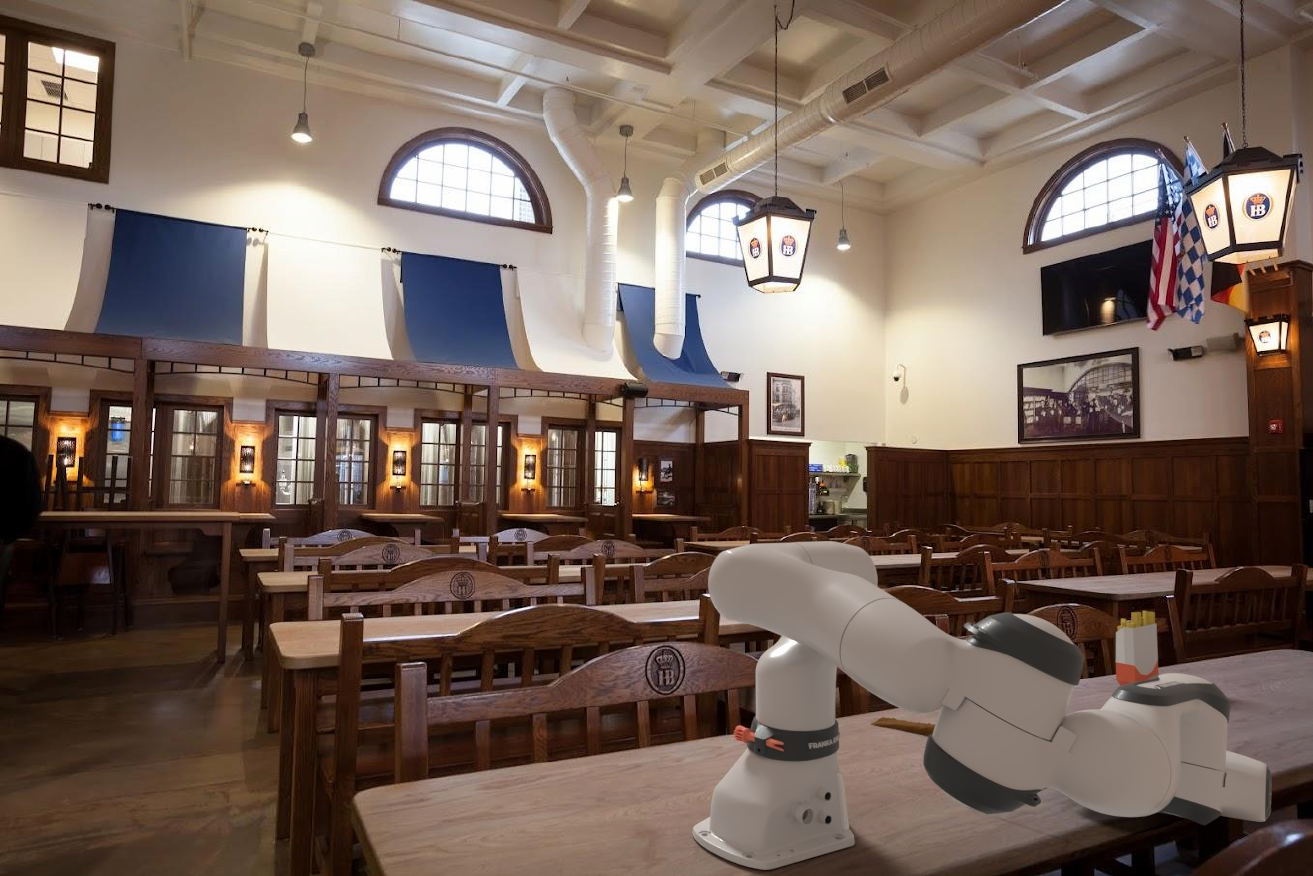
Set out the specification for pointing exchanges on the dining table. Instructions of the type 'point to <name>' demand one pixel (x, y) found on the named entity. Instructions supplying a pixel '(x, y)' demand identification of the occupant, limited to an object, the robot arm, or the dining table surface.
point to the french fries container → (1136, 648)
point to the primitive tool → (905, 725)
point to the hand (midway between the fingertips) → (1041, 739)
